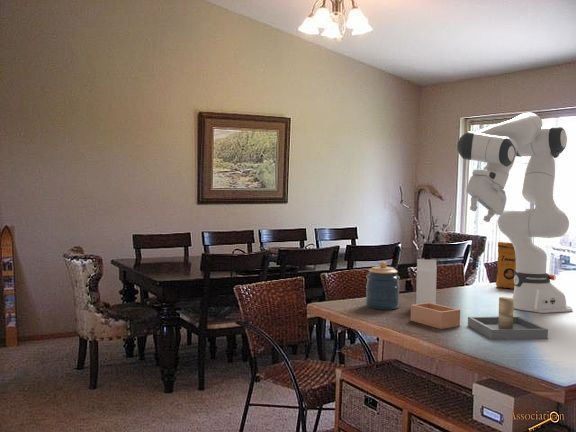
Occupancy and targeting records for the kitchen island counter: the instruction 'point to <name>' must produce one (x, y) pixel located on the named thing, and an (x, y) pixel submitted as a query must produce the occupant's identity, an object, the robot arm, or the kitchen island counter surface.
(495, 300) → the kitchen island counter surface
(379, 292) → the canister
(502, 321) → the birch peg
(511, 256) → the coffee package
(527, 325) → the charcoal tray
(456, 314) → the terracotta planter box
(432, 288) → the milk carton
